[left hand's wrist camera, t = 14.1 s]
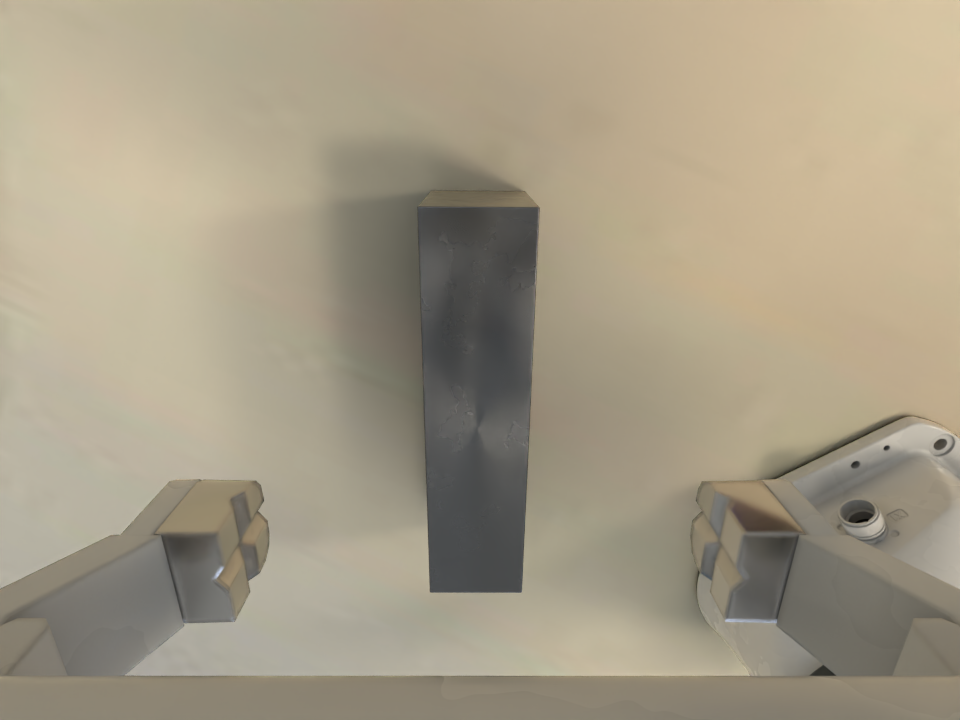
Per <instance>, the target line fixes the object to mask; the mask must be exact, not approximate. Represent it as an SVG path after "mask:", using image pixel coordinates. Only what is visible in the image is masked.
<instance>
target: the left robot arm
mask: <svg viewBox="0 0 960 720" xmlns="http://www.w3.org/2000/svg"><path fill="white" fill-rule="evenodd" d="M937 440H938V441H937ZM936 441H937V442H936ZM935 442H936V443H935ZM263 501H264V498H263V493H262V489H261V485H260V484H259V483H258V482H257V481H247V480H200V479H186V480H174V481H170V482H169V483H168V484H167V485H166V486H165V487H164V488H163V489H162V490H161V491H160V492H159V494H158V495H157V496H156V497H155V498H154V499H153V500H152V501H151V502H150V503H149V504H148V505H147V507H146V508H145V509H144V510H143V511H142V512H141V513H140V514H139V515H138V516H137V517H136V519H135V520H134V521H133V522H132V523H131V524H130V525H129V526H128V527H127V528H126V529H125V531H124V532H123V533H122V534H121V535H110V536H108V537H106V538H104V539H102V540H100V541H98V542H96V543H94V544H92V545H90V546H88V547H86V548H84V549H82V550H80V551H77V552H75V553H73V554H71V555H69V556H67V557H65V558H63V559H61V560H59V561H57V562H55V563H53V564H51V565H49V566H47V567H45V568H42V569H40V570H38V571H36V572H34V573H32V574H30V575H28V576H26V577H24V578H22V579H20V580H18V581H16V582H14V583H12V584H9V585H7V586H5V587H3V588H1V589H0V720H960V438H959V437H957V436H956V435H955V434H954V433H952V432H951V431H950V430H948V429H946V428H945V427H943V426H941V425H939V424H937V423H934V422H932V421H930V420H926V419H923V418H918V417H913V416H909V417H905V418H902V419H899V420H897V421H895V422H893V423H891V424H889V425H886V426H884V427H882V428H880V429H878V430H876V431H874V432H872V433H870V434H868V435H866V436H864V437H862V438H860V439H857V440H855V441H853V442H851V443H849V444H847V445H845V446H843V447H841V448H839V449H837V450H835V451H833V452H831V453H829V454H827V455H824V456H822V457H820V458H818V459H816V460H814V461H812V462H810V463H808V464H806V465H804V466H802V467H800V468H798V469H796V470H793V471H791V472H789V473H787V474H785V475H783V476H781V477H779V478H777V479H772V480H754V481H702V482H701V484H700V486H699V488H698V492H697V498H696V501H697V503H698V505H699V507H700V508H701V510H702V512H701V513H700V514H699V515H698V516H697V517H696V518H695V519H694V520H693V521H692V528H691V548H692V554H693V557H694V560H695V563H696V565H697V567H698V569H699V571H700V573H699V577H698V582H697V600H698V605H699V608H700V611H701V613H702V615H703V617H704V619H705V620H706V622H707V623H708V624H709V625H710V626H711V627H712V629H713V630H714V631H715V632H716V633H717V634H718V635H719V636H720V637H721V638H722V639H723V640H724V641H725V642H726V643H727V645H728V646H729V647H730V648H731V650H732V651H733V652H734V653H735V655H736V656H737V657H738V659H739V660H740V661H741V663H742V664H743V665H744V667H745V668H746V670H747V671H748V672H749V674H750V675H751V676H124V675H125V674H126V673H128V672H129V671H130V670H131V669H132V668H134V667H135V666H136V665H137V664H138V663H140V662H141V661H142V660H143V659H144V658H146V657H147V656H148V655H149V654H151V653H152V652H153V651H154V650H155V649H157V648H158V647H159V646H160V645H161V644H163V643H164V642H165V641H166V640H168V639H169V638H170V637H171V636H172V635H174V634H175V633H176V632H177V631H178V630H180V629H181V628H182V627H183V626H184V623H207V622H235V620H236V618H237V616H238V614H239V613H240V611H241V609H242V607H243V605H244V603H245V601H246V599H247V597H248V595H249V593H250V588H249V583H248V581H249V580H250V579H252V578H253V577H255V576H256V575H257V574H259V573H260V571H261V569H262V567H263V565H264V563H265V561H266V557H267V552H268V548H269V527H268V521H267V520H266V519H265V518H264V517H263V516H262V515H261V514H260V513H259V512H258V510H259V508H260V507H261V505H262V503H263Z"/></svg>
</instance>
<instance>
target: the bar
mask: <svg viewBox="0 0 960 720" xmlns="http://www.w3.org/2000/svg"><path fill="white" fill-rule="evenodd" d="M539 211H540V208H539V207H538V205H537V204H536V203H535V202H534V201H533V200H532V199H531V198H530V196H529V195H528V194H527V193H526V192H525V191H431V192H430V193H429V194H428V195H427V196H426V197H425V199H424V200H423V201H422V202H421V203H420V205H419V206H418V238H419V269H420V299H421V330H422V361H423V392H424V422H425V453H426V484H427V515H428V545H429V576H430V592H470V593H521V592H522V577H523V556H524V534H525V513H526V491H527V470H528V448H529V427H530V405H531V383H532V362H533V340H534V319H535V297H536V276H537V254H538V233H539Z"/></svg>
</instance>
